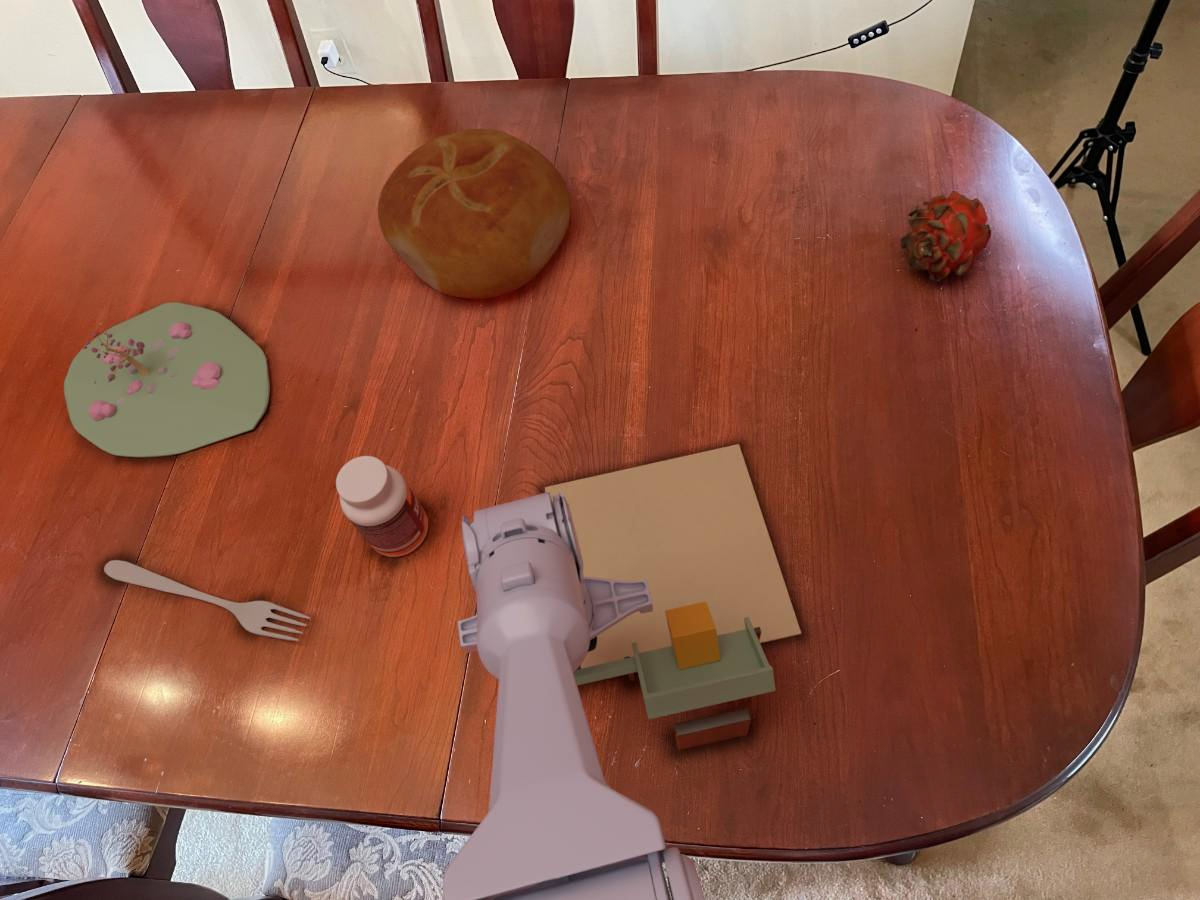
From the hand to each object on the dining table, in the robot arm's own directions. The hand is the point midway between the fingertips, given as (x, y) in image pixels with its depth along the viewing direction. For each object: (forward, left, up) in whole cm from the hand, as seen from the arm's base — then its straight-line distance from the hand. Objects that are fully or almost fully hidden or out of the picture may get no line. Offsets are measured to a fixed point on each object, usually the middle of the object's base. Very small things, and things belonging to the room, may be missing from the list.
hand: (569, 644), depth 71 cm
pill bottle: (+17, +15, -6) cm, 23 cm away
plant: (+42, +39, -6) cm, 58 cm away
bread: (+54, +2, -6) cm, 54 cm away
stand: (-6, -10, -6) cm, 13 cm away
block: (-3, -10, +1) cm, 11 cm away
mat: (+8, -10, -6) cm, 14 cm away
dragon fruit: (+36, -48, -6) cm, 60 cm away
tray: (-4, -7, +1) cm, 9 cm away
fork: (+14, +35, -6) cm, 38 cm away
